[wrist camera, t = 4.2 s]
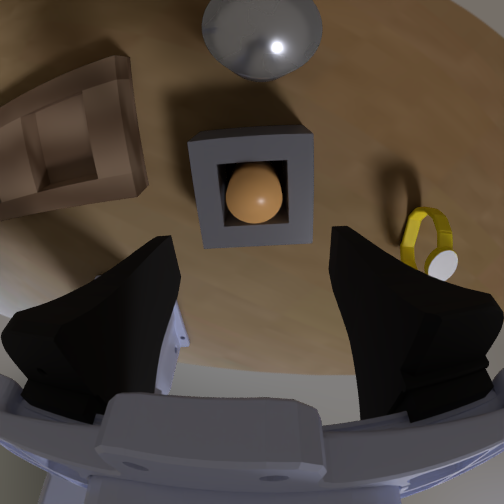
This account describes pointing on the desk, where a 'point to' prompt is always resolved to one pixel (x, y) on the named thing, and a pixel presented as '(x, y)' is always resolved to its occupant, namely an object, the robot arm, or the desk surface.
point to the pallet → (71, 142)
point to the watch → (441, 258)
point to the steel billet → (262, 35)
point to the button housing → (250, 150)
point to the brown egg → (254, 191)
